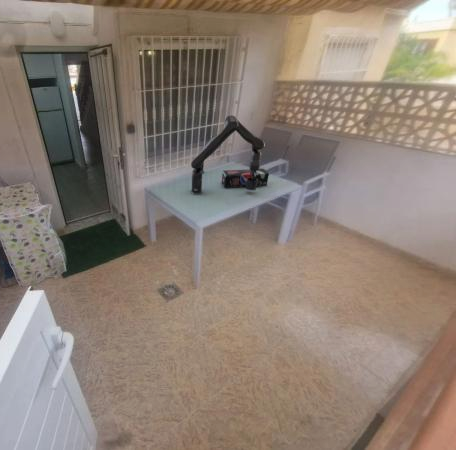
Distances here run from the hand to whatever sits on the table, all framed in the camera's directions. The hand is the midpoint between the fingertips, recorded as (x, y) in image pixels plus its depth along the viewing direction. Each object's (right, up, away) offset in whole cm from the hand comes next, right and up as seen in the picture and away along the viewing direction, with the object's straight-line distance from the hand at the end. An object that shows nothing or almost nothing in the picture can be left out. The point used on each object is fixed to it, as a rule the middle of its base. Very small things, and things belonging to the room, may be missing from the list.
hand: (251, 182), depth 218 cm
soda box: (+1, +2, +22) cm, 23 cm away
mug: (+2, -5, +2) cm, 5 cm away
